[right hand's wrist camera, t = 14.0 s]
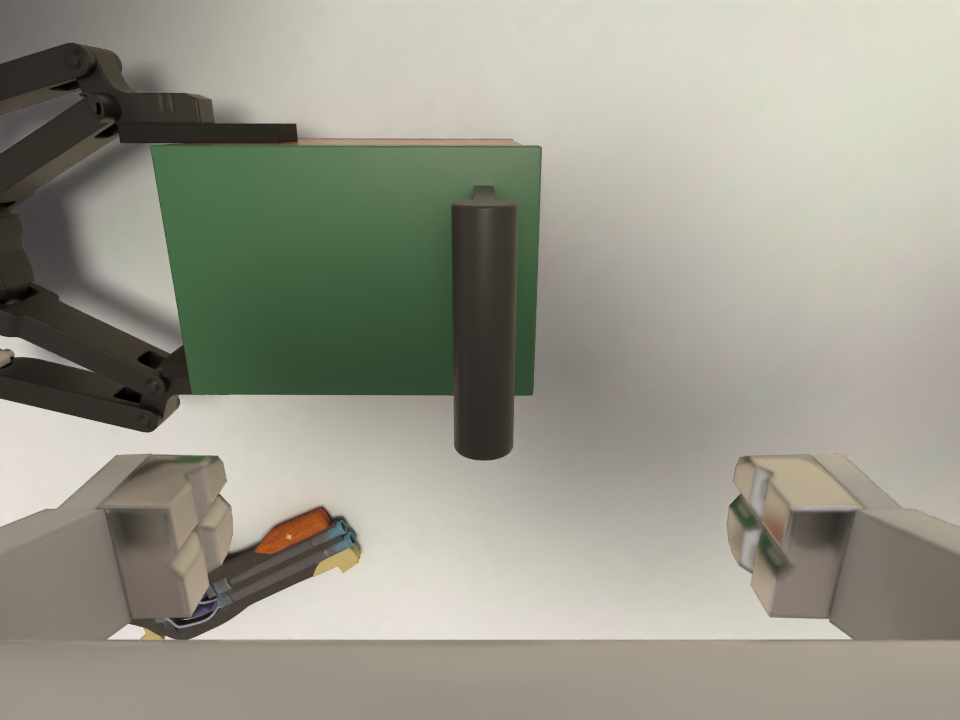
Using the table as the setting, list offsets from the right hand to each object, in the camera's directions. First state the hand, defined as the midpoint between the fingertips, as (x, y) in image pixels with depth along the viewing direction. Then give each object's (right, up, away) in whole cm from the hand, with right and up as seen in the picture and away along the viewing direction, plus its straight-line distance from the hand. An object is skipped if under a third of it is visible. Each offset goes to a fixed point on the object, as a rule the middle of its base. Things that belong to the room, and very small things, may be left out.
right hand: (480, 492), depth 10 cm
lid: (-5, +6, +15) cm, 17 cm away
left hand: (-8, +7, +19) cm, 22 cm away
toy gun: (-18, -10, +32) cm, 38 cm away
